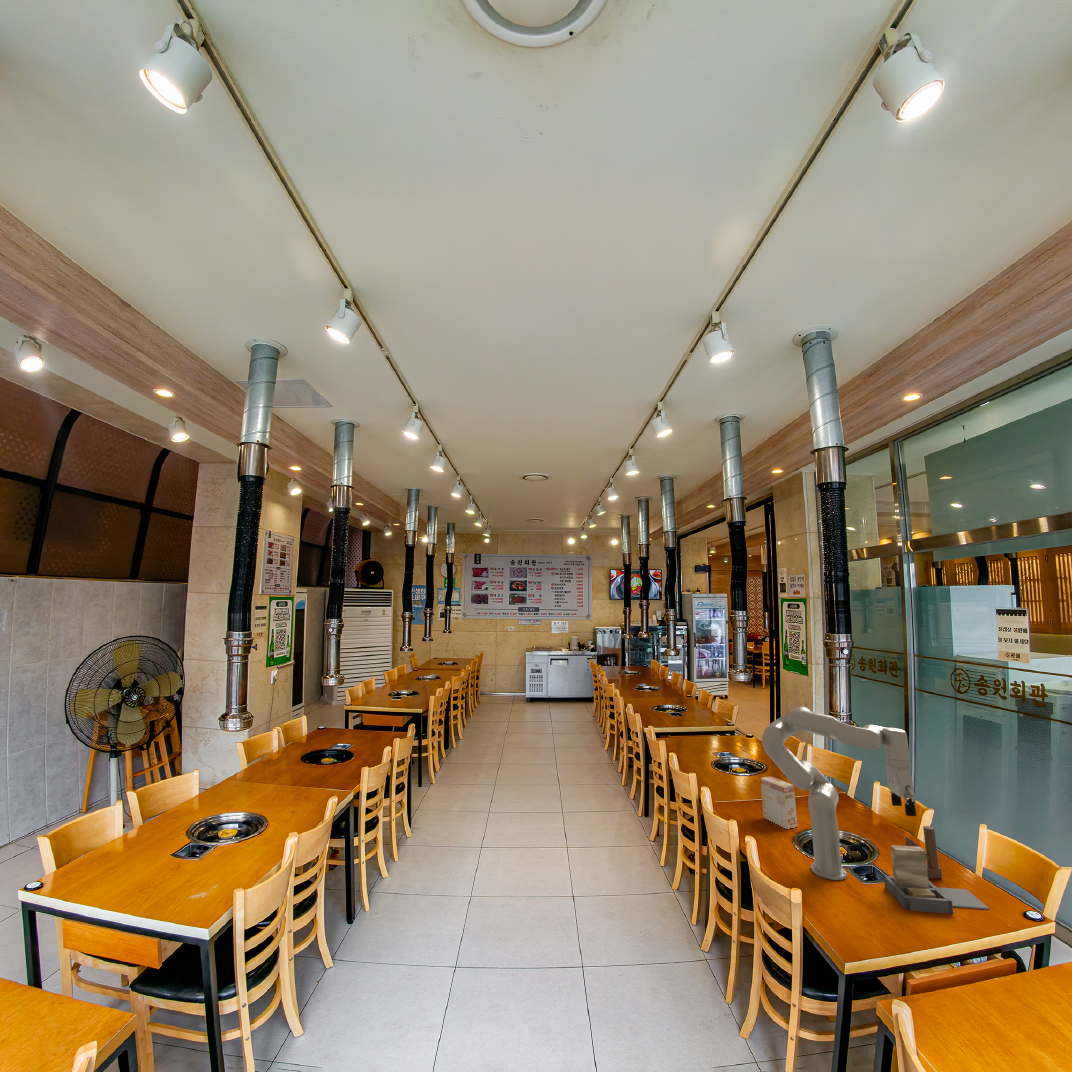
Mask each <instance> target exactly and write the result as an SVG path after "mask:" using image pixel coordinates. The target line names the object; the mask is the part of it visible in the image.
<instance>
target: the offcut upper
mask: <svg viewBox="0 0 1072 1072" xmlns="http://www.w3.org/2000/svg"><path fill="white" fill-rule="evenodd" d="M907 890H908V896H912V897H926V898H936V895H935V894H934V893H932V892H931V891H930V890H929V889H918V888H907Z"/></svg>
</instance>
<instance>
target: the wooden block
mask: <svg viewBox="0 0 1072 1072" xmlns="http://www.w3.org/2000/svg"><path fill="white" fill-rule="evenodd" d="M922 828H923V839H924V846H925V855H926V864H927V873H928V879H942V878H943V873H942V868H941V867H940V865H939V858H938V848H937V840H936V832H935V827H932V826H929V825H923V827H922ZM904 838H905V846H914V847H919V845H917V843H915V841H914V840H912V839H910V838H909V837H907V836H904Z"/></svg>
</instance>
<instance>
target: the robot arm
mask: <svg viewBox="0 0 1072 1072" xmlns="http://www.w3.org/2000/svg"><path fill="white" fill-rule="evenodd" d="M799 732H805V733H809V734H815V735H817V736H822V737H827V738H830V739H833V740H834V741H837V742H840V743H843V744H846V745H850V746H852V747H857V748H860V749H865V750H878V749H879V748H880V747H881V746H884V752H885V753H884V754H885V762H886V779H887V780H886V781H887V783H886V784H887V788H888V790H889V792H890V797H891V798H890V800H891V805H892V806H893V807H902V806H903V802H902V799H903V800H904V802H905V803H904V810H905V811H904V812H905V815H906V816H907V817H917V811H916V800H917V798H916V797H917V795H916V794H915V791H914V789H915V788H914V784H913V777H912V773H911V770H912V769H911V768H912V765H911V758H910V750H909V742H908V735H907V731H905V730H904V729H901V728H898V727H897V728H896V727H884V726H879V725H875V724H866V725H864V726H863V727H859V726H855V725H849V724H847V723H845V722H843V721H840V720H839V719H837V718H836V717H834V716H832V715H828V714H822V713H818V712H815V711H811V710H810V709H809V708H807V707H805V706H797V707H794V708H793V709H792V710H790V711H789V712H787V713H785V714H783V715H782V716H780V717H779V718H777V719H775V720H774V721H773V722H771V723H770V724H768V725H767V726H766V727H765V729H764V731H763V733H762V736H761V745H762V747H763V750H764V752H765V753H766V755H767V756H768V758H770V759H771V761H773V763H774V764H775V765H776V766H777V767H778V768H779V770H780V771H781V772H782V773H783V774H784V775H785V777H786V778H787V779H788V781H790V783H791V784H792V785H794V787H796V788H797V789H798V790H803V791H804V790H808V792H809V795H808V799H807V801H808V802H807V806H808V810H809V815H810V825H811V838H812V846H813V849H812V850H813V859H814V862H812V863H811V864H810V870H811V872H813V873H814V874H815V875H816V876H818V877H821V878H823V879H827V880H831V881H843V880H845V879H847V877H848V873H847V870H845V869H844V867H842V857H841V846H840V845H841V844H840V834H839V825H838V819H837V818H838V817H837V806H838V803H839V799H840V797H839V793H838V790H837V789H836V788H835V786H834V785H833V784H832V783H831V782H830V781H829V779H827V777H825V776H824V775H823V773H822V772H821V771H820V770H819V769H818V767H816V766H815V765H814V764H813V763H811V762H810V761H808V760H805V759H799V758H798V757H796V755H795V754H794V753H793V752H792V751H791V750H790V749H788V748H787V747H786V745H785V742H786V741H787V740H788V739H789V738H790V737H792V736H794V735H795V734H797V733H799Z"/></svg>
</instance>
